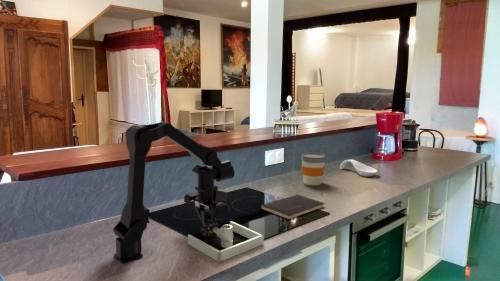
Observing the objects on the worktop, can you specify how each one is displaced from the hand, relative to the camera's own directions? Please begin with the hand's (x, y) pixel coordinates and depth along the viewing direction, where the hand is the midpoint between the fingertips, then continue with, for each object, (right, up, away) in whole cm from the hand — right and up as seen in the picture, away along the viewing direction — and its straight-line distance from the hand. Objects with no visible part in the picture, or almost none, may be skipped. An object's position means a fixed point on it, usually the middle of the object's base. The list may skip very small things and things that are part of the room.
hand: (205, 226), depth 132 cm
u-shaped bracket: (+7, -4, -7) cm, 11 cm away
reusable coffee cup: (+48, +8, +67) cm, 83 cm away
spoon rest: (+79, +11, +90) cm, 120 cm away
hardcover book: (+34, +1, +29) cm, 44 cm away
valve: (+5, -4, -6) cm, 9 cm away
